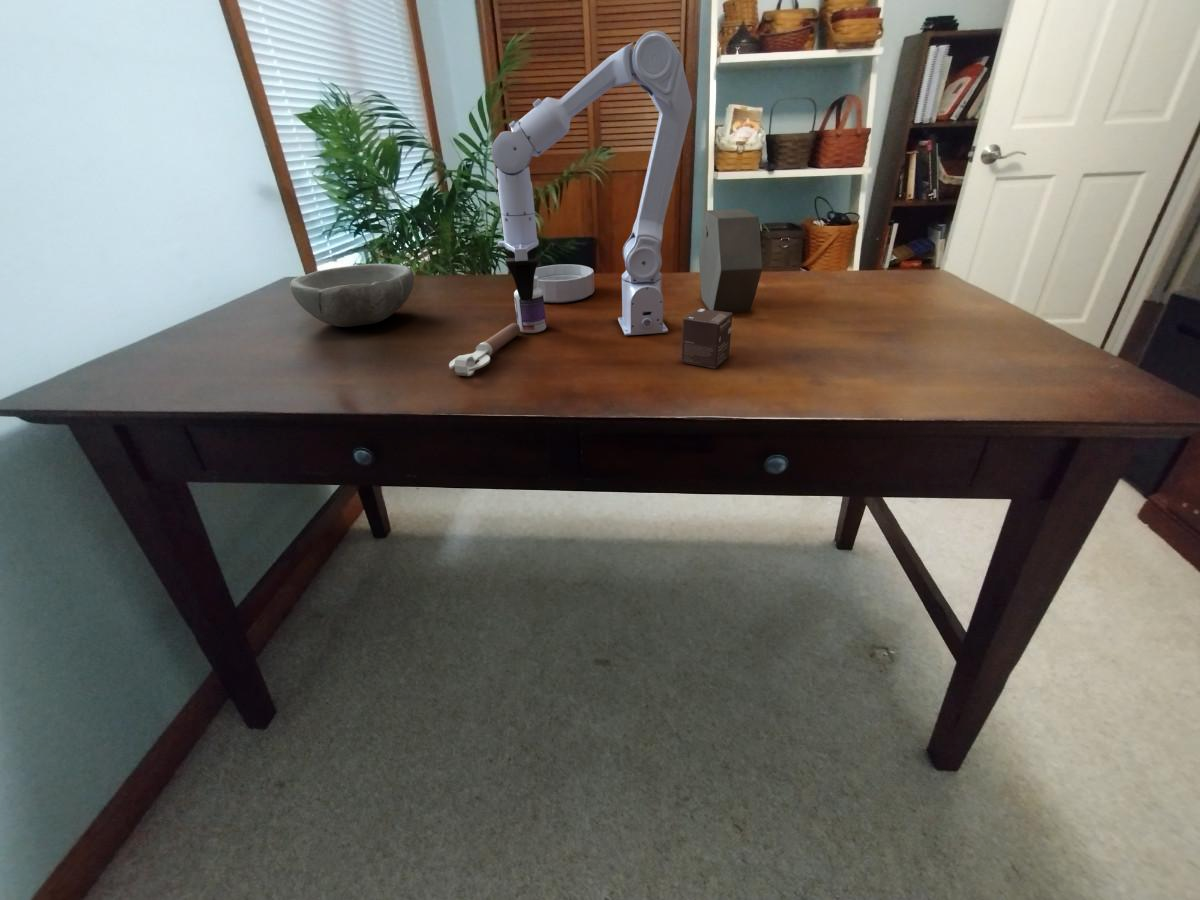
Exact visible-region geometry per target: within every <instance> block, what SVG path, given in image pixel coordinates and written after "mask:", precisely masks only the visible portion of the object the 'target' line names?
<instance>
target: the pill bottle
mask: <svg viewBox="0 0 1200 900" xmlns="http://www.w3.org/2000/svg"><path fill="white" fill-rule="evenodd" d="M538 283H539V282H538V276H535V275H534V286H533V297H532V299H530V300H521V299H520V297H519V294H518V291H517V289H515V291H514V292H513V299H514V306H515V307H514V308H515V315H516V322H517V323H516V324H517V325H519V327H520V333H524V334H537V333H540V332H541V333H542V332H543V331H544V330H546V328H547V318H546V309H545V308H546V307H545V302H544V297H543V291H542V289H540V288H539V287H537V286H538Z"/></svg>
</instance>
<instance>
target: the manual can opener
mask: <svg viewBox="0 0 1200 900" xmlns="http://www.w3.org/2000/svg"><path fill="white" fill-rule="evenodd" d="M520 333H521V332H520V327H519V325H518V323H516V322H511V323H510V324H509V325H507V326H506V327H504V328H503V329H501V330H500V331H498V332H497V333H495V334H493V335H492V336H491V337H489V338H488V339H486V340H485V341H483V342H480V343H479V344H477V345H476V346H475V351H473V352H472V353H466V354H462V355H457V356H456V357H455V358H454V359H452V360H451V361H450V362H449V364H448V367H449V370H452V369H453V368H454V372H455V374H456V376H463V377H471V376H473V375H474V374H475V371H476V370H479V369H481V368H483V367H485V366H487V365H488V364H489V363H490V362H491V356H492V355H493V354H494V353H495V352H497V351H499V349H500V348H502V347H503V346H505V345H507V343H509V342H510V341H511V340H513V339H514V338H516V337H517V336H518V335H520ZM476 361H478V362H477V363H476Z"/></svg>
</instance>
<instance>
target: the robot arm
mask: <svg viewBox="0 0 1200 900" xmlns="http://www.w3.org/2000/svg"><path fill="white" fill-rule="evenodd" d="M633 44H634V41H632V42H630V43H629V44H626V45H625V46H623V47H622V48H620V49H619V50H617V51H615V52H614V53H612V54H610V55H609V56H608V57H607V58H606V59H604V60H603V61H602V62H601V63H600V64H598V65H597V66H596V67H595V68H593V70H592V71H591V72H589V74H587V75H586V76H584V77H583V79H581V80H580V81H579V82H578V83H577V84H576V85H574V86H573V87H572V88H571V89H570V90H568V92H566V93H565V94H564V95H563V96H562V97H560V98H559V99H557V98H554V97H551V96H550V97H549V96H547V97H545V98H544V99H543V100H541V98H537V99H536V100H535V101H534V102H532V106H533V107H534V108H532V109H531V110H529V111H528V112H527V113H526V114H525V115H524V116H522V117H521V118H520V119H518V120H517V121H515V120H512V121H511V122H510V123H509V124H508V126H509V128H510V130H504V131H501V132H500V133H498V136H497V137H496V138H495V139H494V141H493V143H492V146H491V159H492V161H493V164H494V165H495V166H496V167H497V168H496V178H497V191H498V192H497V193H498V199H499V207H500V216H501V223H502V233H503V240H498V241H497V247H498V248H503V247H504V248H505V249H507V251H506V252H507V254H508V255H509V257H507V258H505V265H506V267H507V269H508V270H509V272H510V274H511V276H512V278H513V282H514V283H515V287H516V290H517V291H518V294H519V297H520V299H521V300H530V299H532V297H533V286H534V275H535V271H536V268H538V265H539V262H540V261H539V260H540V259H539V258H538V257H537V254H538V251H539V247H538V246H539V244H540V242H539V239H538V231H537V222H536V221H537V220H536V211H535V210H536V209H535V200H534V189H533V183H532V181H531V171H530V166H529V165H530V163H531V160H532V157H535V158H539V157H540V156H541V155H543V154H544V152H546V151H548V150H549V149H550V148H551V147H553V146H554V145H555V144H557V143H558V142H559V141H560V140H561V139H562V138H564V137H565V136H567V135H568V134H569V132H570V127H571V120H572V119H573V118H574V117H575V116H576V115H578V114H580V113H581V112H582V111H583V110H584V109H586V108H587V107H588V106H590V105H591V104H592V103H594V102H595V101H596V100H597V99H599V98H600V97H602V96H603V95H604V94H606V93H607V92H608V91H609V90H611V89H612V88H618V87H627V86H631V85H632V84H633V83H634V82H635V83H636V85H638V86H639V87H640V88H641V89H643V91H645V92H646V93H647V94H648V95H649V98H650V99H651V101H652V103H653V105H654V106H655V108H656V110H657V111H658V118H657V119H658V120H657V124H656V129H655V134H654V137H653V141H652V146H651V151H650V156H649V160H648V165H647V170H646V173H645V178H644V183H643V187H642V191H641V197H640V201H639V204H638V205H639V206H638V209H637V214H636V218H635V221H634V224H633V226H632V231H631V234H630V235H629V238H628V239H627V240H626V242H625V243H624V245H623V248H622V258H623V261H624V265H625V271H624V272H623V273H622V274H621V308H622V311H621V312H622V314H621V315H622V316H620V317H618V318H617V321H618V323H619V325H620V328H621V329H622V332H623V334H624V336H639V335H653V334H666V333H668V332H669V329H668V328H667V326H666V324H665V323H664V296H663V294H662V275H663V274H662V272H661V271H660V270H661V268H662V265H663V258H662V254H661V253H662V252H661V247H662V243H663V230H664V223H665V219H666V215H667V211H668V207H669V203H670V199H671V194H672V191H673V186H674V182H675V178H676V173H677V171H678V166H679V162H680V158H681V154H682V149H683V145H684V142H685V138H686V134H687V129H688V125H689V121H690V117H691V113H692V109H693V101H692V97H691V93H690V89H689V88H690V87H689V84H688V80H687V78H686V77H687V76H686V72H685V68H684V61H683V56H682V54H681V51H679V49H678V47H677V46H676V44H675V43H674V42H673V39H671V37H670V36H669V35H668V34H667V33H665V32H663V31H662V30H661V31H660V30H650V31H647V32H645V33H643V35H641V36H640V37H639V38H638V40H637V41H636V43H635V45H634V46H633ZM632 46H633V47H632ZM536 257H537V258H536Z"/></svg>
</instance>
